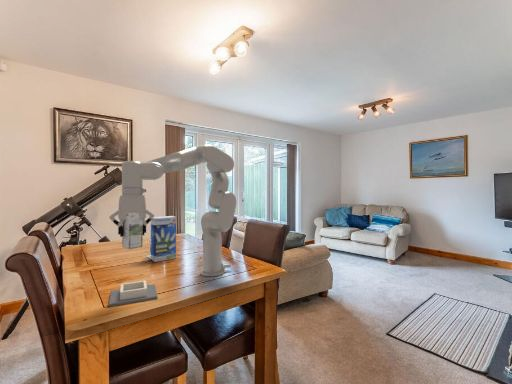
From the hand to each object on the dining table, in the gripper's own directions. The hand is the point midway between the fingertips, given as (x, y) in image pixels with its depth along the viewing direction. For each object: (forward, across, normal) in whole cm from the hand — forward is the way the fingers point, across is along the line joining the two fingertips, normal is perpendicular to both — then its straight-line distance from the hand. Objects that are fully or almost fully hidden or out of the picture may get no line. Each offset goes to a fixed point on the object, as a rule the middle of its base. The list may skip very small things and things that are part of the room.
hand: (132, 235), depth 107 cm
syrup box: (+5, 0, 0) cm, 5 cm away
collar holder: (+25, 0, 0) cm, 25 cm away
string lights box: (+25, -17, -51) cm, 60 cm away
